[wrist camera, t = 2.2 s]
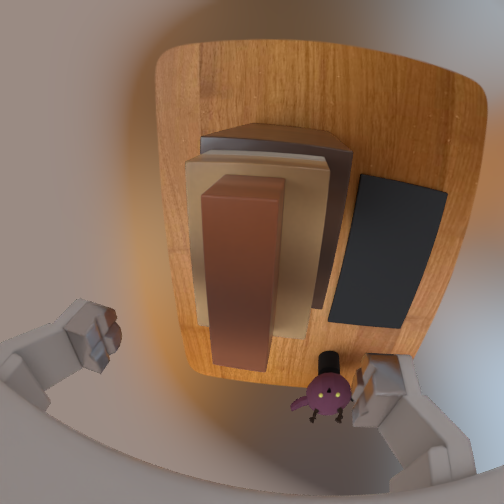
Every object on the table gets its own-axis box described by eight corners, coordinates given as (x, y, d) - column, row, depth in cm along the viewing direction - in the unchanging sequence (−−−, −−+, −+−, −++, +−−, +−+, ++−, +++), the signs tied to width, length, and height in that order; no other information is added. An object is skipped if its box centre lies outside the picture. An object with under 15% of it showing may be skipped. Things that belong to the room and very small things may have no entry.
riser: (252, 122, 28) (200, 136, 14) (328, 131, 27) (353, 151, 13) (246, 210, 33) (201, 291, 19) (316, 219, 32) (322, 309, 18)
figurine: (364, 354, 40) (371, 419, 30) (329, 379, 44) (328, 441, 34) (326, 332, 39) (327, 401, 29) (292, 360, 43) (285, 425, 33)
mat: (360, 173, 29) (361, 174, 28) (445, 192, 27) (448, 193, 27) (327, 319, 38) (327, 321, 38) (399, 326, 37) (400, 328, 36)
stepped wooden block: (209, 149, 15) (150, 178, 9) (324, 156, 14) (338, 189, 8) (214, 290, 19) (179, 364, 13) (306, 301, 18) (302, 383, 12)
